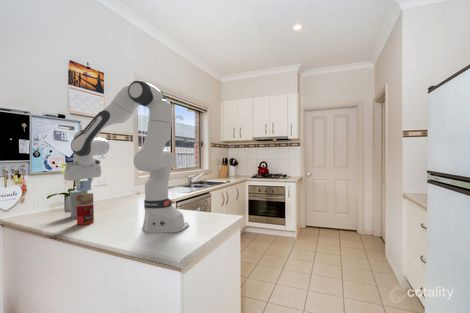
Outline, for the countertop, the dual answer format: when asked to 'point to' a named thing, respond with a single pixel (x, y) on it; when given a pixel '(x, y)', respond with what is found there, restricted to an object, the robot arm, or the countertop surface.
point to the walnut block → (84, 198)
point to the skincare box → (74, 202)
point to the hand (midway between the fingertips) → (84, 187)
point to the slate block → (85, 186)
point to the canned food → (85, 214)
